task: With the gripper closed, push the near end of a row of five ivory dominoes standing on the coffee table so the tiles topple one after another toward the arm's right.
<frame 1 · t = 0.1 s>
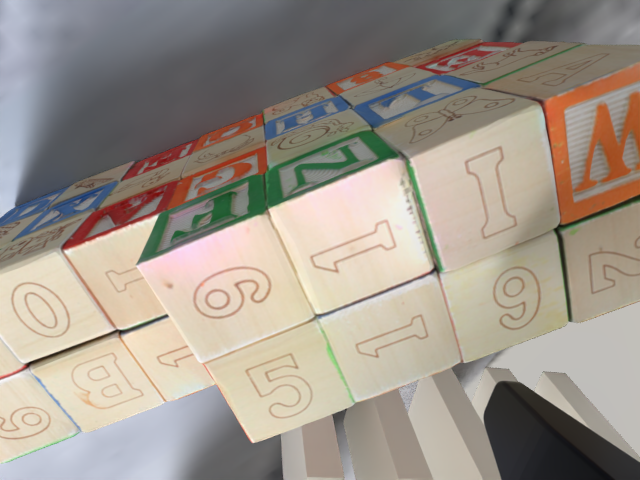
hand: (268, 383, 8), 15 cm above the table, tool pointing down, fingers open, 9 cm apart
domino 4: (484, 399, 30), on the table
domino 3: (425, 395, 29), on the table
stack of blocks: (257, 182, 22), on the table
domino 1: (299, 388, 27), on the table
domino 2: (364, 392, 28), on the table
domino 5: (539, 402, 30), on the table
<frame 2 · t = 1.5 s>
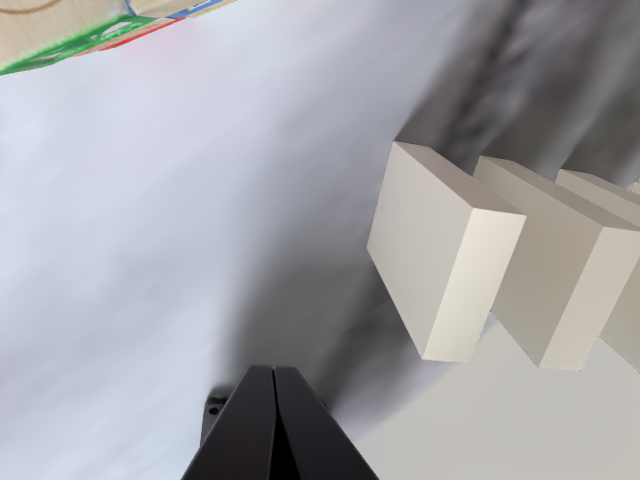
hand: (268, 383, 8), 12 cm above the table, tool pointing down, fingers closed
domino 3: (554, 221, 22), on the table
domino 1: (396, 199, 21), on the table
domino 2: (478, 210, 21), on the table
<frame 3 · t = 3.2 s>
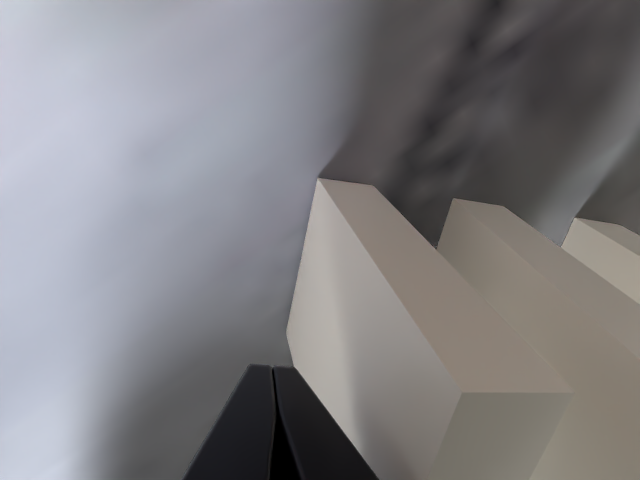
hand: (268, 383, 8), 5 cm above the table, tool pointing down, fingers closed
domino 3: (564, 291, 15), on the table
domino 1: (327, 263, 14), on the table, tilted 5°
domino 2: (451, 277, 14), on the table
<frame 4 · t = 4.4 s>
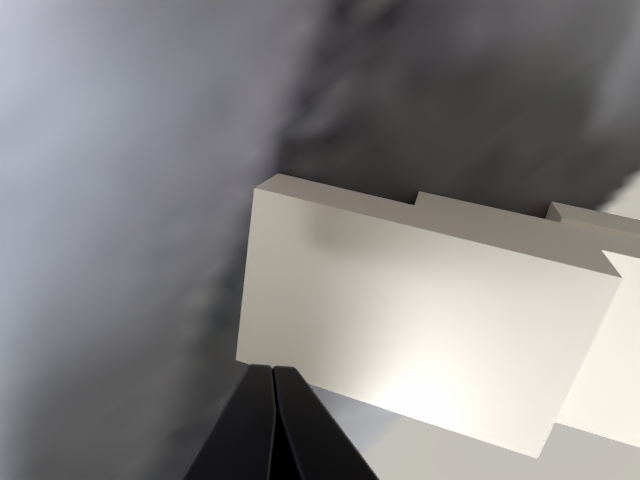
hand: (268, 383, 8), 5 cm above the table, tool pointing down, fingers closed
domino 3: (527, 286, 14), point 1 cm above the table, tilted 67°, touching domino 2
domino 1: (256, 268, 13), point 1 cm above the table, tilted 67°, touching domino 2
domino 2: (396, 281, 13), point 1 cm above the table, tilted 67°, touching domino 1, domino 3
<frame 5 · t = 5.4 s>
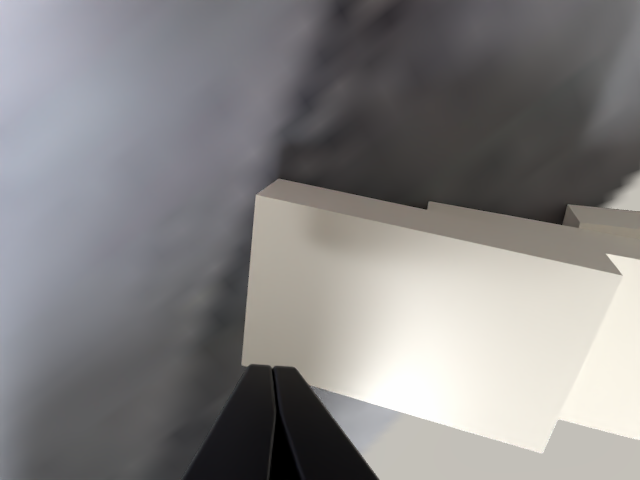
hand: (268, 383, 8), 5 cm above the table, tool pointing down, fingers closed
domino 3: (553, 290, 14), point 1 cm above the table, tilted 68°, touching domino 2
domino 1: (259, 273, 13), point 1 cm above the table, tilted 68°, touching domino 2
domino 2: (410, 290, 13), point 1 cm above the table, tilted 68°, touching domino 1, domino 3
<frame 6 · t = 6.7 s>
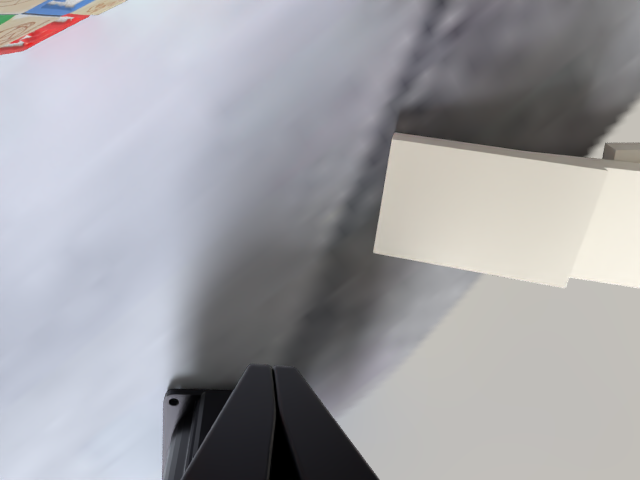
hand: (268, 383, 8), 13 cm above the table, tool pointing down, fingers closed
domino 3: (600, 200, 21), point 1 cm above the table, tilted 68°, touching domino 2, domino 4
domino 1: (383, 193, 20), point 1 cm above the table, tilted 71°, touching domino 2
domino 2: (492, 207, 21), point 1 cm above the table, tilted 69°, touching domino 1, domino 3
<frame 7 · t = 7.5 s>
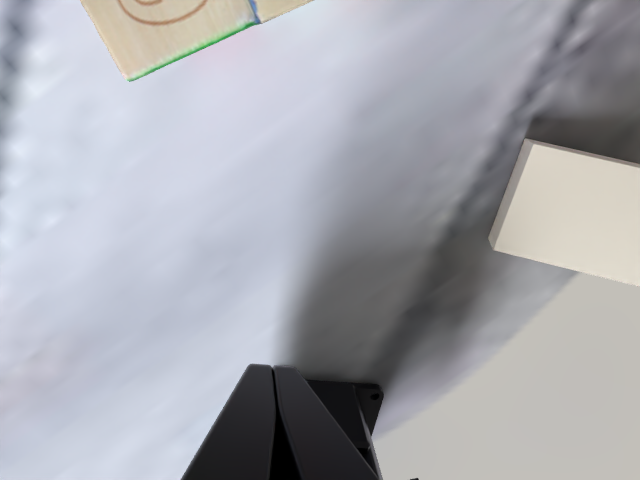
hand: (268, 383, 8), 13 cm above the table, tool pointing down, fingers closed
domino 1: (508, 194, 21), point 1 cm above the table, tilted 72°, touching domino 2
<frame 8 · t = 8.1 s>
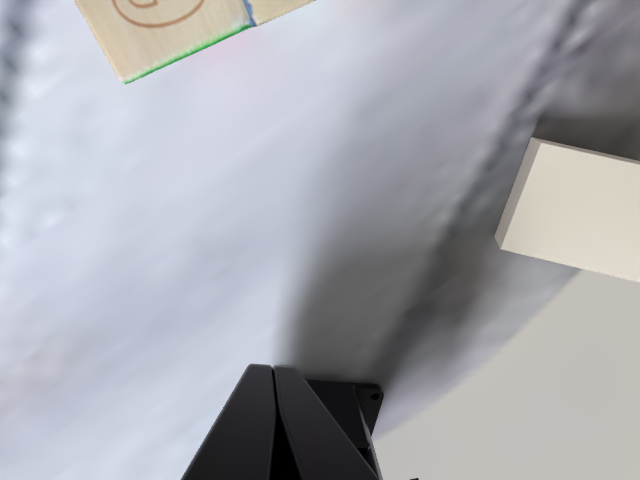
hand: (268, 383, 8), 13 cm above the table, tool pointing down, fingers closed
domino 1: (515, 193, 21), point 1 cm above the table, tilted 74°, touching domino 2
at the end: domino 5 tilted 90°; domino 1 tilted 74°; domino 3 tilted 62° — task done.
